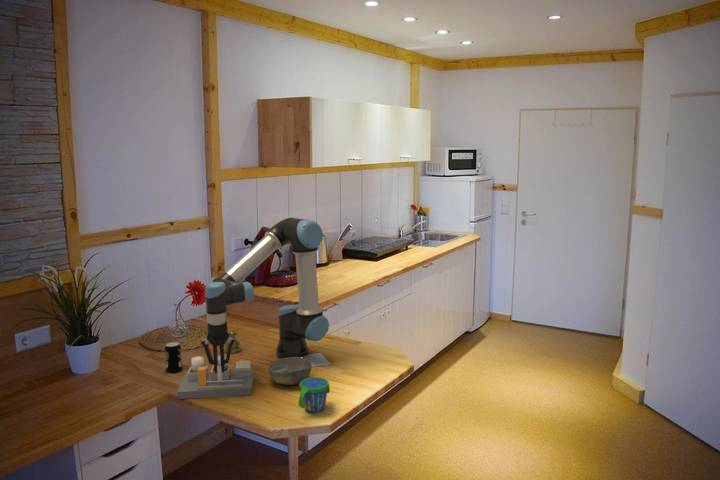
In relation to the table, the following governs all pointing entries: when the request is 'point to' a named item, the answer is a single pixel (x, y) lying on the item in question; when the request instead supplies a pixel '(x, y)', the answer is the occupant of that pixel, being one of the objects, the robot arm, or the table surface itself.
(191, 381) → the console
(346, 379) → the table surface
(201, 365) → the white rounded cube
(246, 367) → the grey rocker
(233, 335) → the green figurine
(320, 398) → the snack cup
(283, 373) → the bowl
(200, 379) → the orange slider
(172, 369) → the beverage can
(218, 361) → the pale blue rounded cube
